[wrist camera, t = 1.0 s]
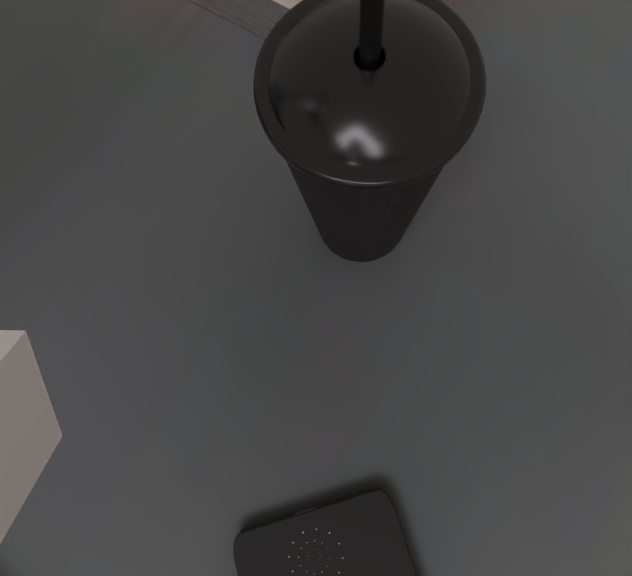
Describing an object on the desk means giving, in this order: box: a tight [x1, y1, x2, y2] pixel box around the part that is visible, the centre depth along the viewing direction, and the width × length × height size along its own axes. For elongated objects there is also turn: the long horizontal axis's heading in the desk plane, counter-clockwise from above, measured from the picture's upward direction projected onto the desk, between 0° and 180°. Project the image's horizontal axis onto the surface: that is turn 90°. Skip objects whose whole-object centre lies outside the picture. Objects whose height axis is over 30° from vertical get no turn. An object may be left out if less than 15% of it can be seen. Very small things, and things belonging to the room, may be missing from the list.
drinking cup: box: [254, 0, 486, 262], centre depth 23 cm, size 8×8×20 cm
